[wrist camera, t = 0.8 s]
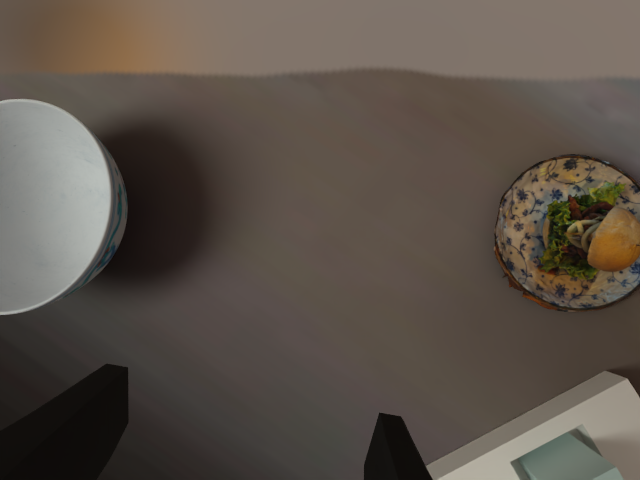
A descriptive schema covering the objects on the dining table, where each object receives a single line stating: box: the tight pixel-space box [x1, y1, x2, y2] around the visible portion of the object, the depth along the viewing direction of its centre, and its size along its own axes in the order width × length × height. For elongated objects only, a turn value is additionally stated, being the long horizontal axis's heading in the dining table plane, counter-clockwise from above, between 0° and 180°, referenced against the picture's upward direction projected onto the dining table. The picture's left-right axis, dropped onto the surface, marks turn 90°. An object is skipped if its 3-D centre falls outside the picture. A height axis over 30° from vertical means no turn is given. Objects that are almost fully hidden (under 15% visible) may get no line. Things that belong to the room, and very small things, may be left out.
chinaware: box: [0, 99, 128, 315], centre depth 31 cm, size 15×15×8 cm
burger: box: [493, 154, 640, 312], centre depth 28 cm, size 12×12×8 cm
